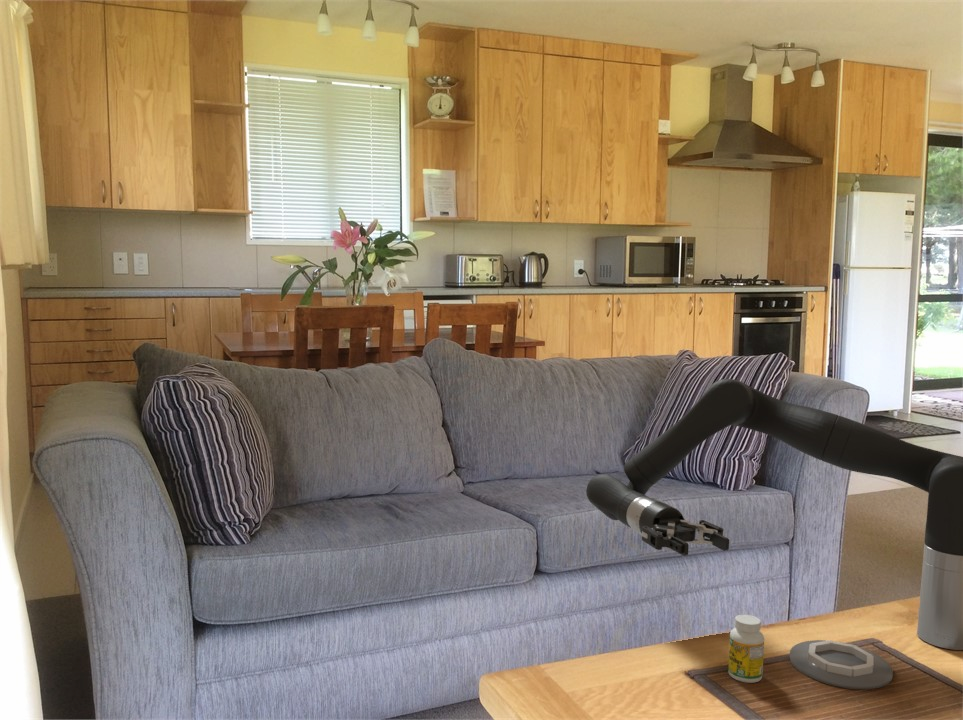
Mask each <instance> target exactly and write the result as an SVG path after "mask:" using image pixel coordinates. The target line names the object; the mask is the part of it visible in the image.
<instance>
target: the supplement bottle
mask: <svg viewBox="0 0 963 720" xmlns="http://www.w3.org/2000/svg"><path fill="white" fill-rule="evenodd" d="M761 623H762V622H761V619H759V618H758V617H756V616H753V615H750V614H738V615H736V616H735V618H734V628H732V629H731V630H730V633H729V648H728V668H727V669H728V671H727V673H728V675H729V676H730V677H731V678H733V679H734V680H736V681H738V682H742V683H746V684H748V683H750V684H752V683H757V682H759V681H761V679H762V678H763V672H764V655H765V654H764V653H765V635H764V634H763V632H762V631H760V630H761V628H762V627H761V625H762V624H761Z"/></svg>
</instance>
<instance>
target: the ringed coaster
mask: <svg viewBox="0 0 963 720" xmlns="http://www.w3.org/2000/svg"><path fill="white" fill-rule="evenodd" d="M789 660H790V661H789V662H790V664H791V665H792V666H793V667H794V668H795V669H796V670H797V671H799V672H800V673H801V674H803V675H805V676H806V677H808V678H810V679H812V680H815V681H818V682H820V683H822V684H826V685H830V686H834V687H837V688H843V689H850V690H873V689H874V690H875V689H879V688H883V687H885V686H887V685H889V684H890V683H891V682H892V680H893V675H894V670H893V668H892V665H891V664H890V662H888V661H887V660H886V659H884V658H883V657H882V656H880V655H879V654H877V653H875V652H873V651H870V649H869V650H868V649H867V648H864V647H860V646H858V645H856V644H855V645H854V644H851V643H847V642H846V643H845V642H841V641H834V640H827V639H826V640H821V639H817V640H806V641H801V642H799V643H797V644H795V645H793V646H792V647H791V648H790V650H789Z"/></svg>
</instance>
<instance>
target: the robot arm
mask: <svg viewBox="0 0 963 720" xmlns="http://www.w3.org/2000/svg"><path fill="white" fill-rule="evenodd" d="M729 426H735V427H740V428H744V429H747V430H751V431H755V432H758V433H762V434H765V435H768V436H770V437H773V438H775V439H778V440H779V441H780V442H783V443H785V444H786V445H788V446H790V447H792V448H794V449H796V450H797V451H799V452H802V453H803V454H805V455H808V456H810V457H812V458H814V459H817V460H819V461H822V462H825V463H827V464H830V465H832V466H835V467H838V468H840V469H844V470H848V471H851V472H855V473H861V474H866V475H873V476H877V477H884V478H890V479H894V480H898V481H900V482H903V483H906V484H909V485H910V486H912V487H915V488H917V489H919V490H922V491H924V492H926V493H928V497H927V508H926V519H925V520H926V522H925V529H924V542H923V543H924V544H923V554H922V555H923V557H922V570H921V581H920V592H919V593H920V594H919V603H918V605H919V606H918V617H917V618H918V619H917V628H916V629H917V630H916V635H917V636H918V638H919V639H920V640H922V641H924V642H926V643H927V644H930V645H931V646H932V645H933V646H934V647H939V648H942V649H946V650H954V651H963V456H961V455H957V454H956V455H955V454H953V453H952V454H951V453H947V452H945V451H940V450H937V449H932V448H927V447H923V446H920V445H916V444H914V443H911V442H908V441H905V440H902V439H900V438H898V437H897V436H894V435H891V434H888V433H886V432H884V431H881V430H880V429H877V428H874V427H871V426H868V425H866V424H864V423H862V422H860V421H856V420H853V419H851V418H847V417H844V416H842V415H838V414H835V413H832V412H829V411H826V410H822V409H817V408H813V407H811V406H804V405H799V404H794V403H791V402H786V401H784V400H781V399H778V398H776V397H774V396H771V395H769V394H767V393H766V392H765V393H764V392H762V391H760V390H758V389H756V388H754V387H752V386H750V385H748V384H747V383H745V382H742V381H740V380H738V379H734V378H722V379H719V380H717V381H715V382H714V383H712V384H710V386H709V387H708V388H707V390H706V391H705V392H704V393H703V394H702V396H701V397H700V398H699V399H698V400H697V401H696V402H695V404H694V405H693V406H692V407H691V408H690V409H689V410H688V411H687V412H686V413H685V414H684V415H683V416H682V417H681V418H680V419H678V420H677V421H676V422H675V423H674V424H673V425H672V426H670V427H669V428H668V429H667V430H665V432H663V433H661V434H660V435H659V436H658V437H656V438H655V439H654V440H652V441H651V442H650V443H648V444H647V445H646V446H644V448H642V449H641V450H640V451H639V452H636V454H634V455H633V456H632V457H631V458H630V459H629V460H628V461H626V462H625V464H624V467H623V471H624V474H625V476H626V477H627V478H628V479H627V480H629V482H628V483H627V484H625V483H624V482H622V481H621V480H619V479H617V478H616V477H614V476H612V475H610V474H607V473H606V474H604V473H603V474H602V473H601V474H598V475H596V476H594V477H592V478H591V479H590V480H589V482H588V483H587V486H586V490H585V492H586V497H587V499H588V502H589V503H591V504H592V506H594V507H595V508H597V509H598V510H599V511H600V512H601V513H602V514H604V515H605V516H606V517H607V518H608V519H610V520H613V521H620V523H622V524H623V525H625V526H627V527H628V528H630V529H632V530H633V531H634V532H635V533H637V534H638V535H640V536H641V541H643V542H644V543H645V544H647V545H648V546H650V547H652V548H654V549H655V550H658V551H660V550H661V551H662V550H663V548H665V549H666V550H668V551H674V552H675V553H678V554H679V555H681V556H688V555H689V545H690V544H695V545H703V544H709V545H712V546H713V547H715V548H717V549H719V550H721V551H728V550H729V549H730V539H729V538H728V537H726V536H724V528H723V527H720V526H718V525H716V524H714V523H711V522H709V521H707V520H704V519H701V520H699V523H695V522H691V521H690V520H686V519H685V518H684V516H683V514H682V512H681V511H680V510H679V509H677V508H675V507H673V506H672V505H669V504H667V503H666V502H662V501H661V500H659V499H657V498H653V497H650V496H647V495H646V494H647V493H648V491H649V490H650V489H651V488H652V487H653V486H654V485H656V484H657V483H658V482H659V481H660V480H662V479H663V478H664V477H666V476H667V475H668V474H669V473H670V472H672V471H673V470H674V469H676V467H678V465H680V463H682V462H683V461H684V459H685V458H686V457H688V456H689V455H690V453H692V451H694V450H695V449H696V448H697V447H699V445H700V444H702V443H704V441H706V440H707V439H710V437H711V436H714V435H715V434H717V433H719V432H720V431H723V430H724V429H726V428H728V427H729ZM697 532H698V538H696V533H697Z"/></svg>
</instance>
